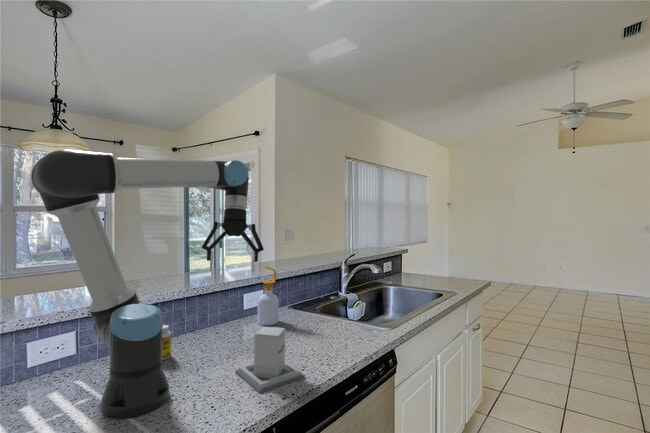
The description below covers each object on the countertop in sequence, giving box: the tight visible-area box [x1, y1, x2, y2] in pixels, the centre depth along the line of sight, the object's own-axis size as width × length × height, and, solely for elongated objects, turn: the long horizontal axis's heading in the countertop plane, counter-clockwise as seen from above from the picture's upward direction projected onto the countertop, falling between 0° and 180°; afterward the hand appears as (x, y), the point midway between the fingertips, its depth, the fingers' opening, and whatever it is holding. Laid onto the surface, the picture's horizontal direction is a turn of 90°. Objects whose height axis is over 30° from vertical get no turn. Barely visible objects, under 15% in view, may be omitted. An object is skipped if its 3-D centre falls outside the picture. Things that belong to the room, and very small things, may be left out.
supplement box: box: [253, 326, 286, 379], centre depth 104 cm, size 7×7×13 cm
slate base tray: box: [234, 360, 306, 394], centre depth 104 cm, size 15×15×2 cm
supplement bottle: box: [162, 324, 172, 361], centre depth 115 cm, size 6×6×10 cm
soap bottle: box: [257, 265, 280, 326], centre depth 152 cm, size 9×9×25 cm
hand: (231, 271), depth 117 cm, fingers open, 13 cm apart
